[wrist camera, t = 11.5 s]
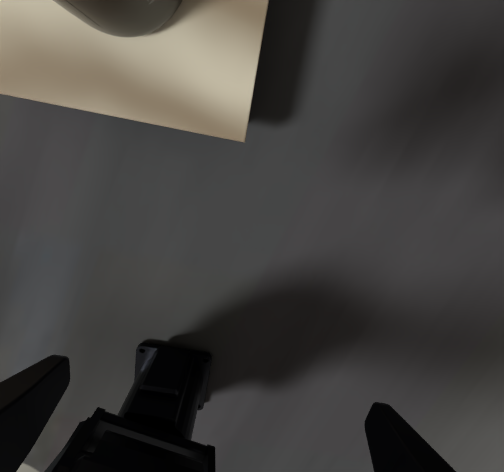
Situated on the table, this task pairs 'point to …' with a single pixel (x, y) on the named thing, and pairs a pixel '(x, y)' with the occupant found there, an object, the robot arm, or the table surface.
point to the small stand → (139, 64)
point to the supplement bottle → (122, 15)
